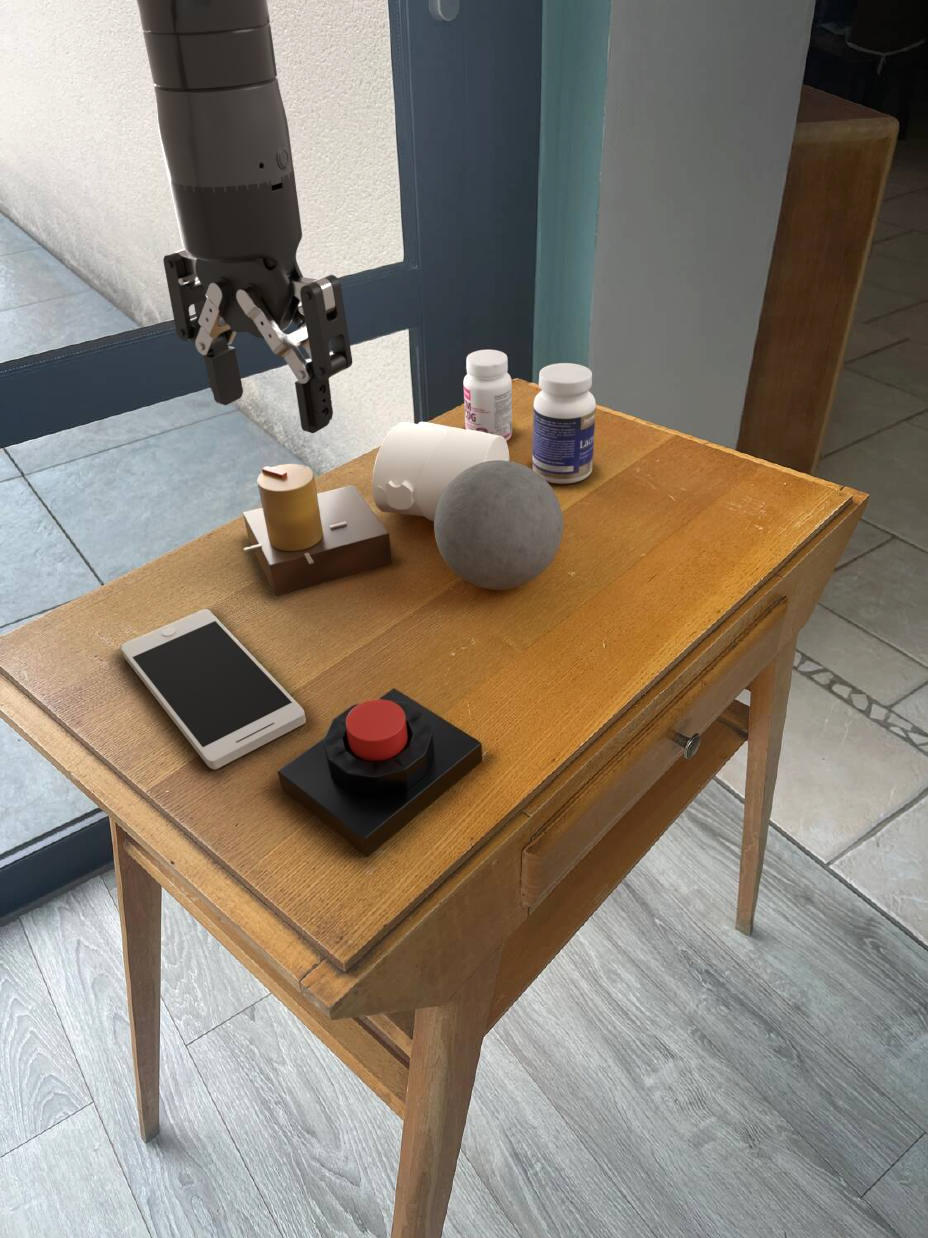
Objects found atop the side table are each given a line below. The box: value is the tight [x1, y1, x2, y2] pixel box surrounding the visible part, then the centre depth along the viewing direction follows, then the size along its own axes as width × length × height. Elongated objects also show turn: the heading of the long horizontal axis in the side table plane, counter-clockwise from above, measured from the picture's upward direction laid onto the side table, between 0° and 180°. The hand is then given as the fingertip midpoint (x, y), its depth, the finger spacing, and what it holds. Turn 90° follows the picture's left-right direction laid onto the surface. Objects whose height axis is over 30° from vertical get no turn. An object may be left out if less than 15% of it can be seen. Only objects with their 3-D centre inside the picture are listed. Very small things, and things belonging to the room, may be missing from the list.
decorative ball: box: [433, 460, 564, 591], centre depth 73 cm, size 10×10×10 cm
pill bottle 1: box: [463, 349, 513, 442], centre depth 93 cm, size 5×5×8 cm
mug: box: [371, 421, 510, 522], centre depth 82 cm, size 12×9×8 cm
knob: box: [256, 463, 323, 551], centre depth 74 cm, size 4×4×6 cm
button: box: [346, 698, 408, 761], centre depth 57 cm, size 4×4×2 cm
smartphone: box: [120, 608, 307, 771], centre depth 66 cm, size 7×15×1 cm, turn 38°
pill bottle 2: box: [531, 362, 597, 485], centre depth 86 cm, size 6×6×10 cm
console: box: [242, 484, 393, 596], centre depth 78 cm, size 11×10×3 cm
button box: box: [277, 687, 483, 858], centre depth 58 cm, size 10×8×4 cm
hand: (272, 414), depth 66 cm, fingers open, 8 cm apart
